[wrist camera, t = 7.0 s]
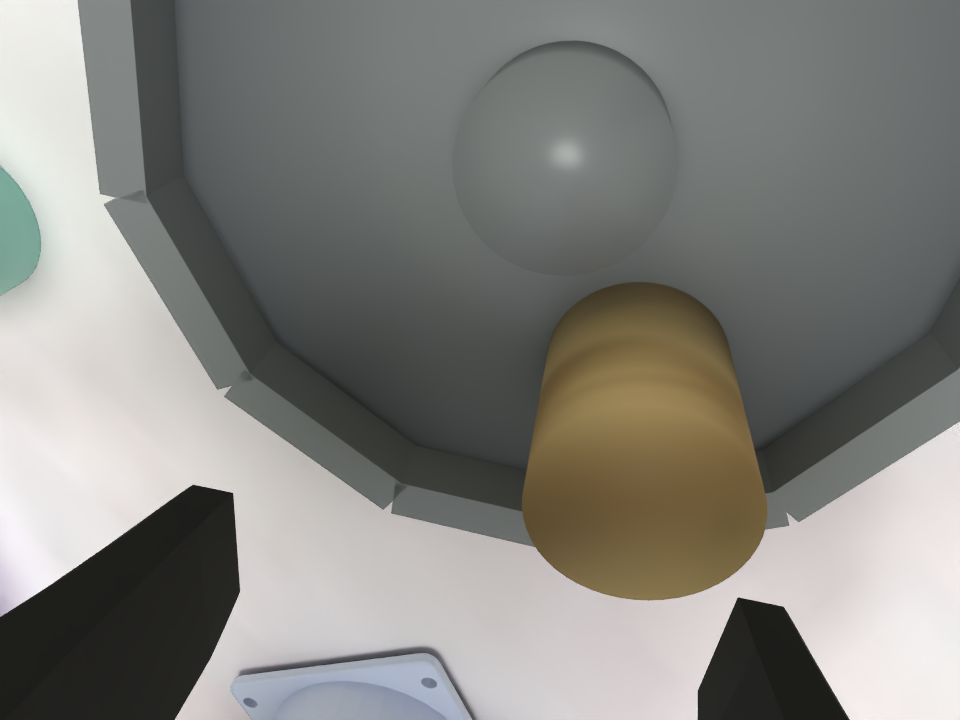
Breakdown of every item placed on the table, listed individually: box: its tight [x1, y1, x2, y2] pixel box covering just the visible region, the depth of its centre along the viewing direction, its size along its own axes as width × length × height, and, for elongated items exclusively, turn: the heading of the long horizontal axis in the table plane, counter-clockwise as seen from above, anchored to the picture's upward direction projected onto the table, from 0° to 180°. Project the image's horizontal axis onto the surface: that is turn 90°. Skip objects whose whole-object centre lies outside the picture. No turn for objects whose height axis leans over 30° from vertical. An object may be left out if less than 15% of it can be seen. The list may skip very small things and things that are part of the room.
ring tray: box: [78, 0, 960, 547], centre depth 15 cm, size 18×18×2 cm
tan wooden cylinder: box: [522, 282, 768, 600], centre depth 15 cm, size 4×4×5 cm
